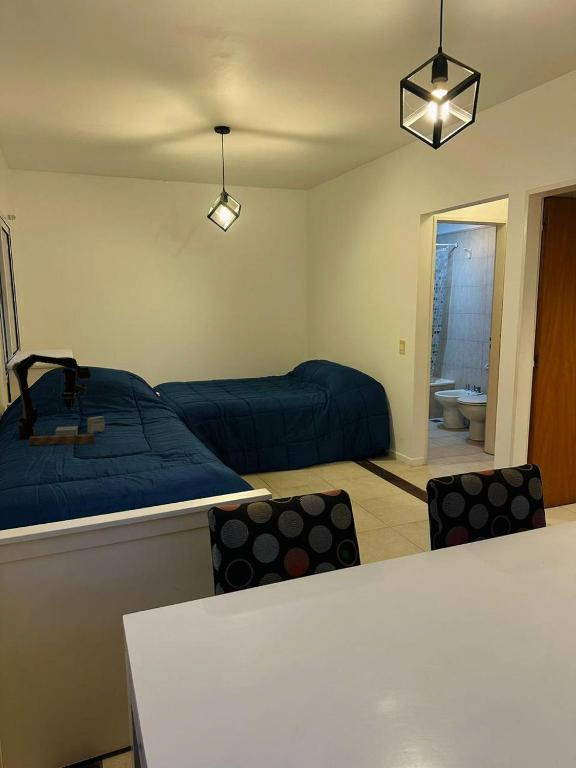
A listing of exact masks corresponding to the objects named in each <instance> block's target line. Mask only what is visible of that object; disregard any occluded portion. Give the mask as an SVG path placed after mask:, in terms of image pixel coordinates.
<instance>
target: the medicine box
mask: <svg viewBox="0 0 576 768" xmlns="http://www.w3.org/2000/svg"><path fill="white" fill-rule="evenodd" d="M86 419H87V434H89V433H90V434H94V433H97V434H99V433H98V432H102V431H105V430H106V428H105V425H106V424H105V416H103V415H102V416H101V415H98V416H92V417H87V418H86ZM105 432H106V431H105ZM102 433H103V432H102Z"/></svg>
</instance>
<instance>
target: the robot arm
mask: <svg viewBox="0 0 576 768" xmlns="http://www.w3.org/2000/svg"><path fill="white" fill-rule="evenodd" d="M36 363H43V364H50V365H57V366H61V367H62V369H61V370H60V371H59V373H64V374H63V375H64V378H63V379H64V381H63V385H64V391H63V393H62V394H61V399H62V400H63V402H64V404H65V406H66V408H67V410H68V411H71V410H72V409H71V408H74V405H75V400H76V397H78V395H79V394H80V393H81V394H82V395H85V394H86V393H87V390H88V387H86V384H85V383H82V384H78V382H77V380H79V381H82V380H90V378H91V371H90V369H89V367H88V366H84V367H80V365H79V364H78V363H77V360H76V358H74V357H70V356H63V357H61V356H60V357H53V356H47V355H38V354H34V353H31V354H30V355H28V356H27V357H25V358H23V359H22V360H20V361H16V362H14V363H13V364H12V371H13V374H14V376H15V378H16V379H17V382H18V383H17V384H18V387H19V392H20V398H21V403H22V411H21V418H20V419H19V420H18V421H17V423H18V426H19V427H18V430H19V435H18V436H19V437H18V440H27V439H29V440H30V437H33V436H35V435H36V432H35V427H34V426H35V423H36V422H37V420H38V419H39V418H38V417H39V414H38V408H37V407H34V406H33V403H32V398H31V392H30V388H29V383H28V378H29V377H28V376H29V369H30V368H32V367H33V366H34V365H35V364H36Z"/></svg>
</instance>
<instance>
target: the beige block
mask: <svg viewBox="0 0 576 768" xmlns="http://www.w3.org/2000/svg"><path fill="white" fill-rule="evenodd" d="M78 427H79V426H78V425H75V426H74V425H73V426H57V427H56V429H55V431H54V432H55V436H59V435H79V433H78V432H79V431H78V430H79V429H78Z"/></svg>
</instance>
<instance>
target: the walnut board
mask: <svg viewBox="0 0 576 768" xmlns="http://www.w3.org/2000/svg"><path fill="white" fill-rule="evenodd" d="M95 435H96V434H89V433H87V434H78V435H59V436H56V435H40V436H39V435H37V436H33V437H30V439H29V446H30V445H39V446H48V445H47V444H63V445H80V444H81V445H83V444H87V445H88V444H95V442H96V441H95V437H96V436H95Z"/></svg>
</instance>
